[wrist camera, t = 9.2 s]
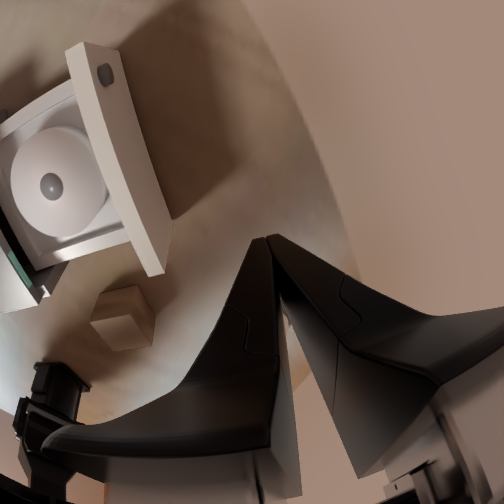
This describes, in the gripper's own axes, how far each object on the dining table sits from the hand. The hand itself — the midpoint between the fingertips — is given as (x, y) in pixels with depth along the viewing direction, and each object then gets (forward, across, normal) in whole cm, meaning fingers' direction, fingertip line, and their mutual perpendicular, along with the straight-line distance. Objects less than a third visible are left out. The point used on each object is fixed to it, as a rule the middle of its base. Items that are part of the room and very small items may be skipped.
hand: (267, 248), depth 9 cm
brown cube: (+11, +12, +10) cm, 19 cm away
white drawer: (+11, +11, -3) cm, 16 cm away
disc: (+9, +11, -3) cm, 15 cm away
